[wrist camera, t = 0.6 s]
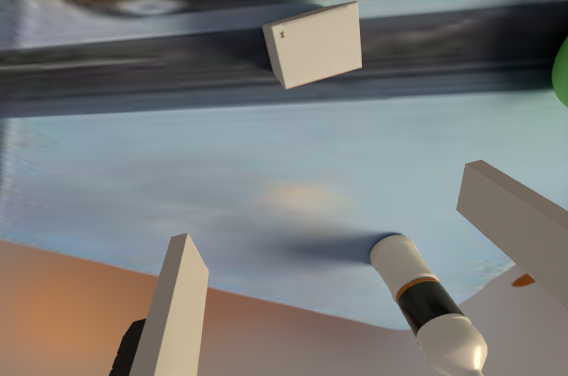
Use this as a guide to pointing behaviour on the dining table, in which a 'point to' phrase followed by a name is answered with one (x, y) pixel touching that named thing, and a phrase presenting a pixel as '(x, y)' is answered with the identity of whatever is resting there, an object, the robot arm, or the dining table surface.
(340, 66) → the small box
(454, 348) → the vodka
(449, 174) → the dining table surface
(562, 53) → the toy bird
